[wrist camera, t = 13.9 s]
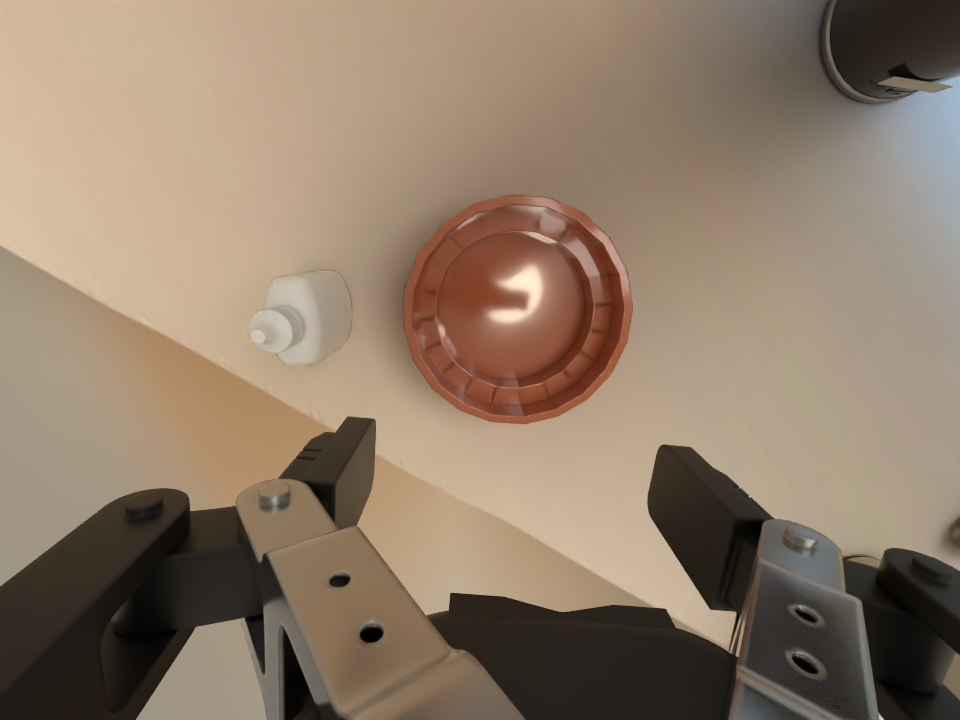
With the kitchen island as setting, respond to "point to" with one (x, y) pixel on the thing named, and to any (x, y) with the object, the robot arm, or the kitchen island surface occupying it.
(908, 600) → the robot arm
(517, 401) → the bowl
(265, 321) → the eye dropper bottle
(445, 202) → the kitchen island surface
